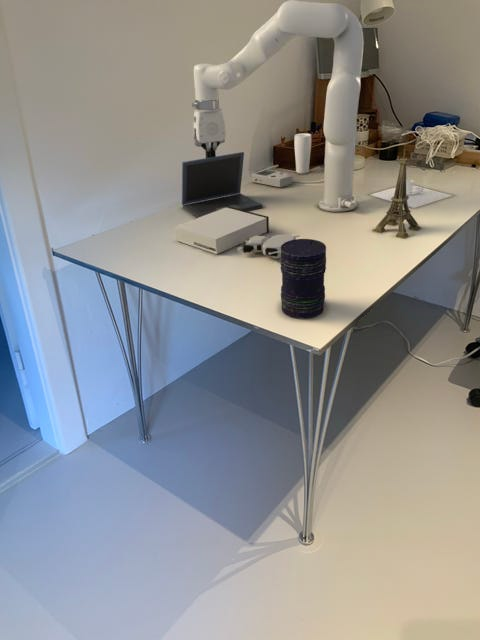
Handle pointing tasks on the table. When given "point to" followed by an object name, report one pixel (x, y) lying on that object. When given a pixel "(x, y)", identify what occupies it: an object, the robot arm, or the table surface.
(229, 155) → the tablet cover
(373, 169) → the table surface
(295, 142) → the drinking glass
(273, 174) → the handheld gaming device
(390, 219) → the eiffel tower
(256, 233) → the disc drive
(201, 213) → the dark grey flat slab
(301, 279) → the dark blue cylinder
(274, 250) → the robot toy
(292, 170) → the table surface
